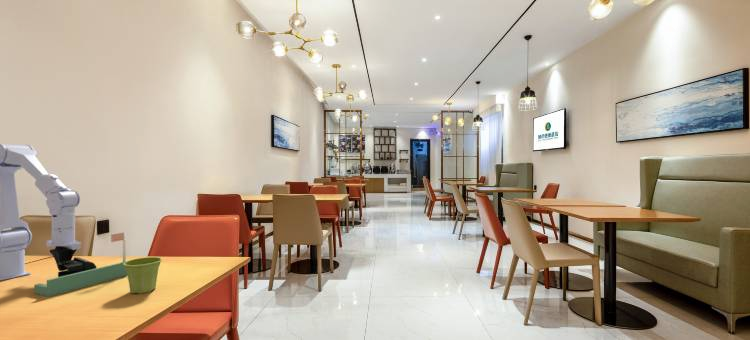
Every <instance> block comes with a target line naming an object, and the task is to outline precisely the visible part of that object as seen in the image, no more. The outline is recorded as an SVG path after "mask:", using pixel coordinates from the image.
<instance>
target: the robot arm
mask: <svg viewBox="0 0 750 340" xmlns="http://www.w3.org/2000/svg"><path fill="white" fill-rule="evenodd" d="M37 152H38V151H36V150H35V148H34V147H33V146H32V145H30V144H10V143H9V144H7V143H1V142H0V281H4V280H9V279H14V278H18V277H23V276H27V275H31V274H32V272H31V271H30V272H29V271H26V269H25V268H26V267H25V266H26V258H25V257H26V255H25V254H26V253H25V249H26V248H28V245H29V244H31V241H32V240H33V239H32V238H33V234H32V231H31V230H30V227H29V223H28V222H27V221H26V222H25V221H24V220H22V219H20V213H19V205H18V196H17V195H18V194H17V187H16V180H15V178H16V177H15V174H16V172H17V171H18V170H19V171H20V170H22V169H24V170H25V171H26V172H27V173H28V174H29V175H30V176H32V177H33V178H34V179H35V181H34V185H35V187H36V188H37V189H38V190H39V191H40V192H41V194H43V195H44V197H45V198H46V200H45V203H46V206H47V208H48V209H49V210H48V211H49V215H50V216H51V239H49V240H46V248H47V247H48V248H49V247H53V248H52V249H50V250H49V253H50V254H51V255H52V257H53V258H54V260H55V264H56V267H57V269H58V272H61V271H66V270H68V268H67V267H62V268H58V263H59V262H63V261H69V260H73V258H74V257H73V256H74V255H75V254H76V252H77V250H80V249H82V242H79V241H78V240H76V207H78V205H79V204H80V201H81V198H80V194H79V193H78V191H76V190H74V189H71V188H67V186H66V185H65V184H64V183H63V182H62V181H61V180H60V179H59V176H57V174H56V175H55V174H53V173H48V171H47V170H46V169H45V167H44V166H43V164H41V162H40V161H39V160H38V158H37V156H38V153H37Z"/></svg>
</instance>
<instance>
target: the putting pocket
mask: <svg viewBox="0 0 750 340" xmlns="http://www.w3.org/2000/svg"><path fill="white" fill-rule="evenodd" d="M126 234H127V233H126V231H123V232H119V233H112V234H110V235H111V236H110V239H111V240H110V241H111V243H114V242H120V241H122V262H118V263H113V264H109V265H106V266H105V265H104V266H101V267H97V268H96V269H91V270H87V271H83V272H79V273H74V274H70V275H66V276H62V277H58V276H57V277H54V278H49V279H46V284H44V283H36V284H34V285H33V286H34V294H35V295H40V296H45V297H54V296H57V295H61V294H64V293H68V292H72V291H75V290H79V289H82V288H86V287H89V286H94V285H97V284H100V283H105V282H108V281H113V280H115V279H118V278H119V279H120V278H124V277H126V276H127V277H128V275H127V270H126V268H125V266H124V265H123V263H124V262H126V261H127V257H126V256H127V254H126V253H127V247H126V244H127V242H126V241H127V240H126V238H127V235H126Z"/></svg>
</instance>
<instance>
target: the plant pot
mask: <svg viewBox="0 0 750 340" xmlns="http://www.w3.org/2000/svg"><path fill="white" fill-rule="evenodd" d="M162 260H163V258H162V257H159V256H148V257H147V256H146V257H139V258H133V259H129V260H126V262H124V263H123V265H124V266H125V268H126V270H127V280H128V285H129V291H130V293H131V294H140V295H141V294H147V293H150V292H152V291H153V290H156V286H157V280H158V274H159V273H158V272H159V268H160V266H161V262H162Z"/></svg>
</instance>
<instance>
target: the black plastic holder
mask: <svg viewBox="0 0 750 340" xmlns="http://www.w3.org/2000/svg"><path fill="white" fill-rule="evenodd" d="M62 267H67V268H68V270H64V271H58V273H57V277H62V276H66V275H70V274H74V273H79V272H83V271H87V270H91V269H96V268H98V267H97V265H96V263H94V262H93V261H89V260H87V259H84V258H82V257H76V256H75V257H73V259H71V260H69V261H63V262H59V263H58V267H57V269H58V268H62Z"/></svg>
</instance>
